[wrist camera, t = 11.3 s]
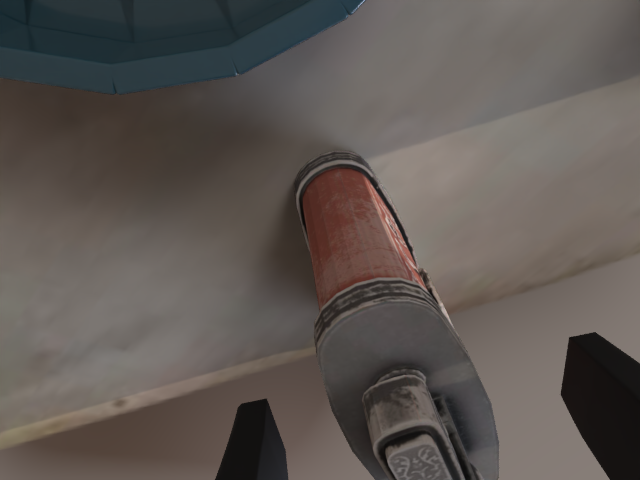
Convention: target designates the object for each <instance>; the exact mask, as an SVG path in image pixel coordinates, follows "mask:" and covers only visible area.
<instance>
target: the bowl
mask: <svg viewBox="0 0 640 480" xmlns="http://www.w3.org/2000/svg"><path fill="white" fill-rule="evenodd" d="M365 1H366V0H0V78H4V79H10V80H17V81H24V82H30V83H37V84H44V85H51V86H57V87H64V88H71V89H77V90H84V91H91V92H98V93H104V94H111V95H114V94H116V93H117V94H119V95H122V94H129V93H135V92H141V91H148V90H154V89H160V88H167V87H173V86H179V85H186V84H192V83H198V82H204V81H211V80H217V79H223V78H230V77H235V76H237V74H239V75H240V74H244V73H245V72H247V71H249V70H251V69H253V68H255V67H257V66H259V65H261V64H262V63H264V62H266V61H268V60H270V59H272V58H274V57H276V56H277V55H279V54H281V53H283V52H285V51H287V50H289V49H291V48H293V47H294V46H296V45H298V44H300V43H302V42H304V41H306V40H308V39H310V38H311V37H313V36H315V35H317V34H319V33H321V32H323V31H325V30H327V29H328V28H330V27H332V26H334V25H336V24H338V23H340V22H342V21H344V20H345V19H347V18H348V15H352V14H353V13H354V12H355V11H356V10H357V9H358V8H359V7H360V6H361V5H362V4H363V3H364V2H365Z"/></svg>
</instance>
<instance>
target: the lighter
mask: <svg viewBox="0 0 640 480" xmlns="http://www.w3.org/2000/svg"><path fill="white" fill-rule="evenodd" d="M295 199H296V206H297V210H298V214H299V218H300V221H301V225H302V229H303V233H304V237H305V241H306V245H307V247H308V250H309V252H310V255H311V260H312V266H313V273H314V279H315V285H316V291H317V298H318V304H319V310H320V312H319V314H318V316H317V318H316V320H315V322H314V338H315V345H316V353H317V360H318V365H319V368H320V371H321V375H322V378H323V381H324V385H325V388H326V392H327V395H328V399H329V402H330V406H331V409H332V412H333V414H334V416H335V418H336V419H337V422H338V424H339V426H340V427H341V430H342V432H343V433H344V436H345V438H346V440H347V442H348V444H349V446H350V447H351V449H352V451H353V452H354V454H355V455H356V456H357V457H358V459H359V460H360V461H361V463H362V464H363V465H364V466H365V468H366V469H367V470H368V471H369V473H370V474H371V475H372V476H373V477H374V479H375V480H498V478H499V440H498V436H497V430H496V425H495V421H494V415H493V410H492V405H491V402H490V400H489V398H488V396H487V393H486V391H485V389H484V387H483V385H482V382H481V380H480V378H479V376H478V374H477V372H476V370H475V367H474V365H473V363H472V361H471V359H470V357H469V355H468V353H467V351H466V349H465V347H464V345H463V343H462V341H461V339H460V337H459V335H458V333H457V332H456V331H455V329H454V327H453V325H452V323H451V321H450V318H449V316H448V314H447V312H446V310H445V308H444V306H443V303H442V301H441V299H440V297H439V295H438V293H437V291H436V289H435V287H434V285H433V283H432V281H431V279H430V277H429V275H428V273H427V271H426V270H424V269H422V268H420V269H419V266H418V262H417V258H416V255H415V251H414V247H413V244H412V242H411V240H410V238H409V236H408V234H407V232H406V229H405V227H404V225H403V223H402V221H401V219H400V217H399V214H398V212H397V210H396V208H395V206H394V204H393V202H392V200H391V198H390V196H389V195H388V193H387V192H386V190H385V189H384V187H383V186H382V184H381V183H380V181H379V180H378V178H377V177H376V175H375V174H374V172H373V170H372V169H371V167H370V166H369V164H368V163H367V162H366V161H365V160H364V159H363V158H362V157H361V156H359V155H357V154H354V153H352V152H349V151H331V152H328V153H324V154H320V155H319V156H317V157H315V158H314V159H312V160H310V161H309V162H308V163H307V164H306V165H305V166H304V167H303V168H302V169H301V170H300V172H299V174H298V176H297V179H296V181H295Z"/></svg>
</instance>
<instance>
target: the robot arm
mask: <svg viewBox="0 0 640 480" xmlns="http://www.w3.org/2000/svg"><path fill="white" fill-rule="evenodd" d="M561 396H562V398H563V400H564V402H565V404H566V406H567V409H568V410H569V413H570V415H571V417H572V419H573V421H574V423H575V424H576V426H577V428H578V430H579V432H580V434H581V436H582V438H583V439H584V441H585V442H586V444H587V445H588V447H589V448H590V450H591V451H592V453H593V455H594V456H595V457H596V459H597V461H598V462H599V464H600V465H601V467H602V468H603V470H604V471H605V473H606V474H607V476H608V477H609V479H610V480H640V363H638V362H637V361H636V360H634V359H633V358H631V357H630V356H628V355H627V354H626V353H624V352H623V351H621V350H620V349H619V348H617V347H616V346H614V345H613V344H611V343H610V342H609V341H607V340H606V339H604V338H603V337H601V336H600V335H598V334H597V333H596V332H594V333H589V334H584V335H579V336H574V337H570V338H569V343H568V349H567V356H566V362H565V369H564V376H563V383H562V389H561ZM215 480H288V472H287V462H286V451H285V448H284V445H283V442H282V439H281V437H280V434H279V431H278V428H277V426H276V423H275V420H274V418H273V415H272V412H271V409H270V406H269V404H268V401H267V399H262V400H258V401H253V402H248V403H243V404H241V405H240V406H239V407H238V410H237V414H236V418H235V421H234V425H233V428H232V431H231V435H230V438H229V442H228V444H227V447H226V450H225V454H224V456H223V459H222V462H221V465H220V468H219V471H218V473H217V476H216V479H215Z"/></svg>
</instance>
